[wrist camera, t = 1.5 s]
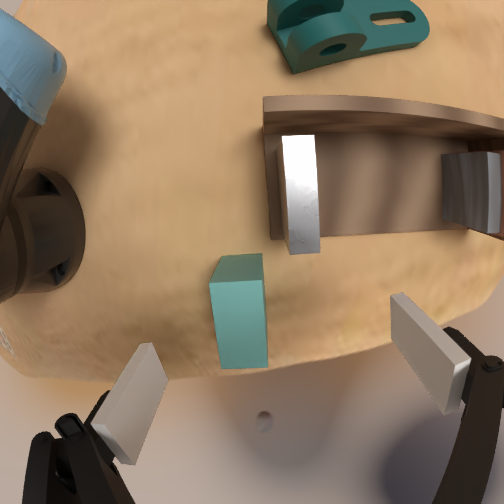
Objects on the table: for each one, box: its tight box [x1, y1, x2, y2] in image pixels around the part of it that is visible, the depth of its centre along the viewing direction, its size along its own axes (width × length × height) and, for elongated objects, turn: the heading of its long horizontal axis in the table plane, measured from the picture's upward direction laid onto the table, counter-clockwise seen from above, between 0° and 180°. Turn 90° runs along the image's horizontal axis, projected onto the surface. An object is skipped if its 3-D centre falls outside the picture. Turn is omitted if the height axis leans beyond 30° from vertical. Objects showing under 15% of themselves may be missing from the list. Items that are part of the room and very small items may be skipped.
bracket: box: [267, 0, 430, 74], centre depth 20 cm, size 18×7×8 cm, turn 112°
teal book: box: [209, 253, 268, 369], centre depth 27 cm, size 4×8×8 cm, turn 4°
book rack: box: [263, 95, 504, 241], centre depth 22 cm, size 24×11×11 cm, turn 94°
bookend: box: [276, 135, 320, 255], centre depth 23 cm, size 2×8×9 cm, turn 4°
